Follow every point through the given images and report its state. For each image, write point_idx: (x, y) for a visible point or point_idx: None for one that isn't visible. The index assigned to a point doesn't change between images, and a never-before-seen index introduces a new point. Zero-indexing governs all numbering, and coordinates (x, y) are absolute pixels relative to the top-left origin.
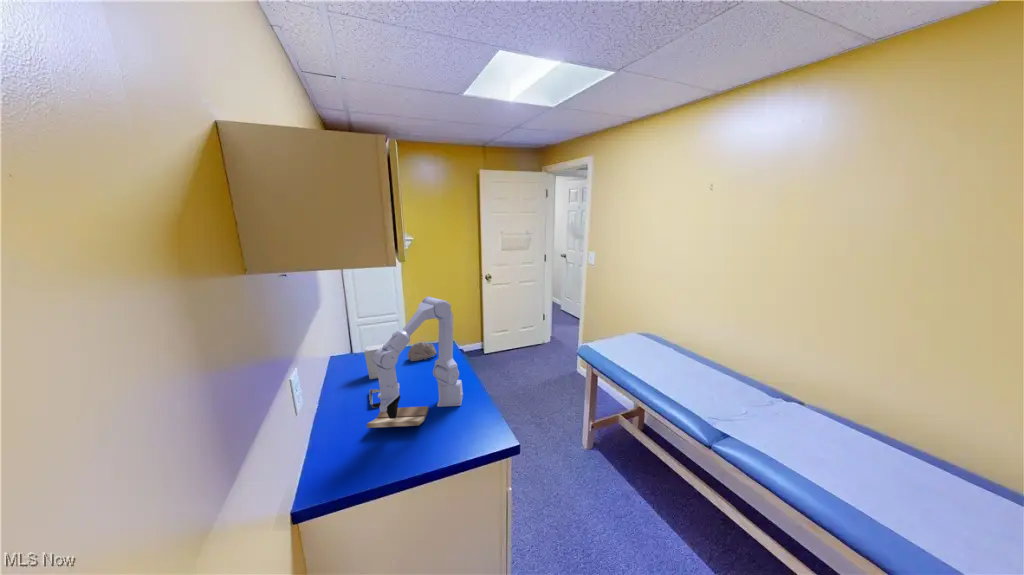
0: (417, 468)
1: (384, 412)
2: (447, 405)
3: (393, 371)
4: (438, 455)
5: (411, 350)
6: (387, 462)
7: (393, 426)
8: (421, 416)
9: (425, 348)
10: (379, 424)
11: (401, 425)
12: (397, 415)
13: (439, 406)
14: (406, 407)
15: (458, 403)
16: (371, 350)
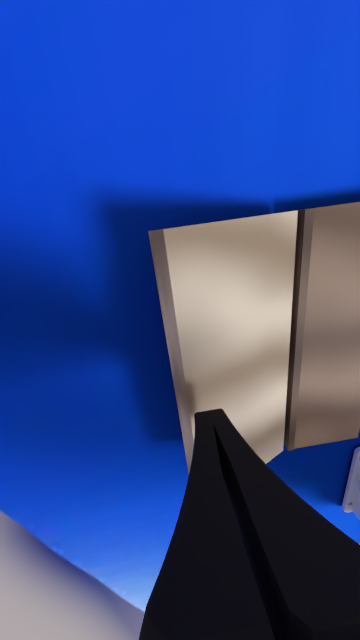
0: (17, 503)
1: (358, 238)
2: (351, 480)
3: None
4: (89, 528)
5: None
6: (6, 411)
7: (176, 398)
8: (286, 436)
9: None
10: (172, 327)
11: (184, 434)
12: (310, 333)
13: (353, 455)
14: None
15: (354, 505)
16: None
